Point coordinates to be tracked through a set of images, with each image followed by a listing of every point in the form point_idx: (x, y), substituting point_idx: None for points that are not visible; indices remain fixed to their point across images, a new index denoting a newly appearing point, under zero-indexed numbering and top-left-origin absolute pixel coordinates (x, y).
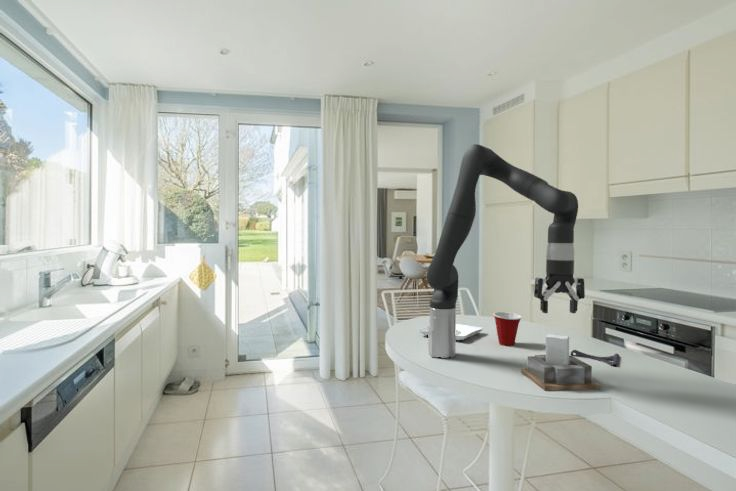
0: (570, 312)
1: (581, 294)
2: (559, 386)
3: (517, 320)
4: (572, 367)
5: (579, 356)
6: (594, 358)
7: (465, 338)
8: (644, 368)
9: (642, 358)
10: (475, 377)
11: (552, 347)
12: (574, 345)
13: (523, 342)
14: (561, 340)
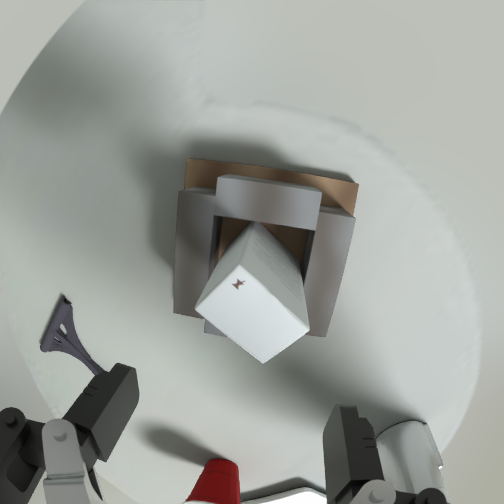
0: (138, 392)
1: (8, 437)
2: (314, 175)
3: (198, 499)
4: (256, 192)
5: None
6: (85, 352)
7: (294, 489)
8: (27, 272)
9: (14, 320)
10: (446, 311)
11: (289, 287)
12: None
13: (181, 462)
14: (259, 278)
